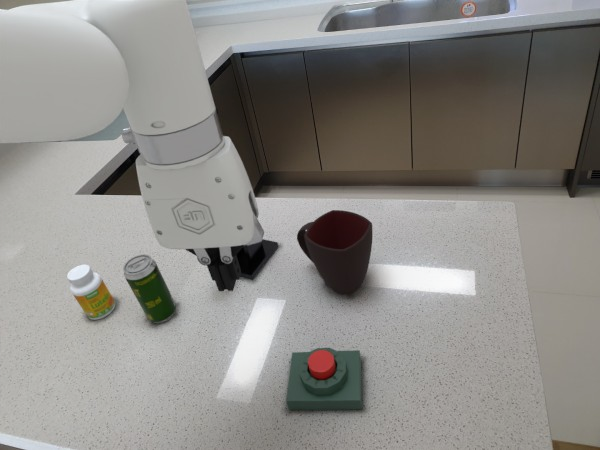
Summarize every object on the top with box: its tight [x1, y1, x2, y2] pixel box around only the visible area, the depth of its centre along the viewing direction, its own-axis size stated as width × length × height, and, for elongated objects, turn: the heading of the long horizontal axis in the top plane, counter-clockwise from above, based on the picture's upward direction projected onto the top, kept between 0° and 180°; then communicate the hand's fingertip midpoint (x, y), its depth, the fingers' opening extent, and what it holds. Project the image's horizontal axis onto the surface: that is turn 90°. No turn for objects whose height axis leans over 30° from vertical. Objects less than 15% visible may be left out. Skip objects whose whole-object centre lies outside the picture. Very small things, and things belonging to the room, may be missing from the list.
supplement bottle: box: [66, 264, 116, 321], centre depth 84 cm, size 5×5×10 cm
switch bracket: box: [236, 238, 279, 281], centre depth 87 cm, size 10×8×13 cm
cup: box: [296, 209, 374, 296], centre depth 79 cm, size 10×14×12 cm
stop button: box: [308, 350, 336, 380], centre depth 63 cm, size 4×4×2 cm
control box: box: [285, 347, 363, 411], centre depth 64 cm, size 10×8×4 cm
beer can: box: [122, 253, 177, 324], centre depth 79 cm, size 5×5×12 cm
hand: (229, 282), depth 52 cm, fingers closed
